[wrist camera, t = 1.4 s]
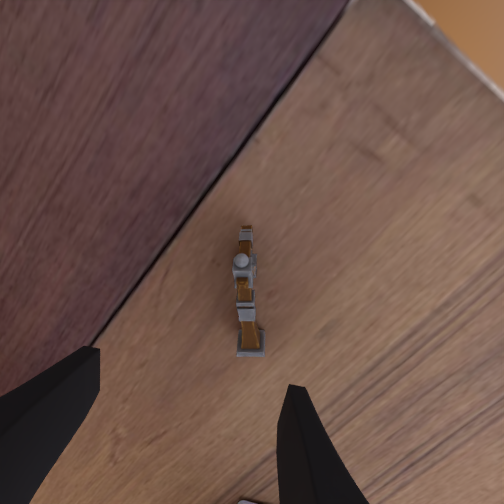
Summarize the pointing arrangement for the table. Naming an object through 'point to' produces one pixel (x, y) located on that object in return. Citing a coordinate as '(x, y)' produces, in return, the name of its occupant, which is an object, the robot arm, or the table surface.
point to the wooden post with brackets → (247, 297)
